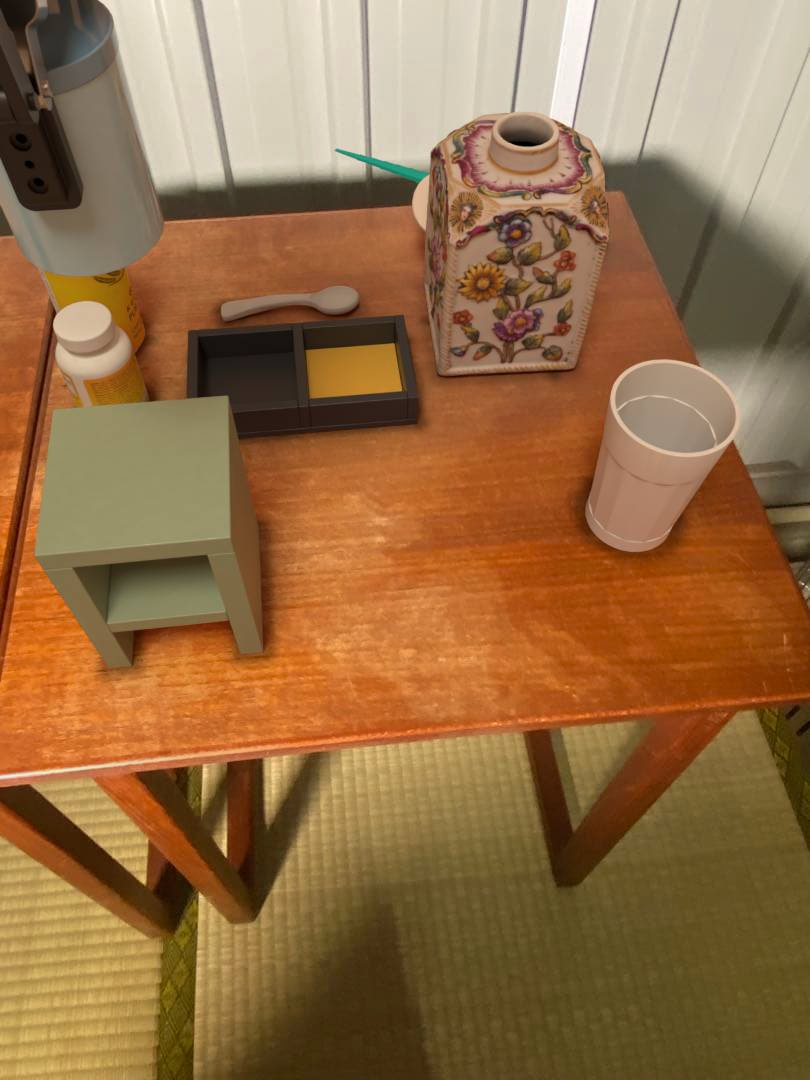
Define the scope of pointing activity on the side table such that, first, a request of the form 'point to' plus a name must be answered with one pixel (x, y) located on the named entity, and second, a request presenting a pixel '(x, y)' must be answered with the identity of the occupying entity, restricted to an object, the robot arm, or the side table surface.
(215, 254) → the side table surface
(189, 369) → the tray
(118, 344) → the supplement bottle
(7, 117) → the robot arm
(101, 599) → the shelf
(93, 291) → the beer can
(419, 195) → the beige rounded piece
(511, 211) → the decorative jar
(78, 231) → the blue grey cylinder
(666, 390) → the cup
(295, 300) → the spoon
